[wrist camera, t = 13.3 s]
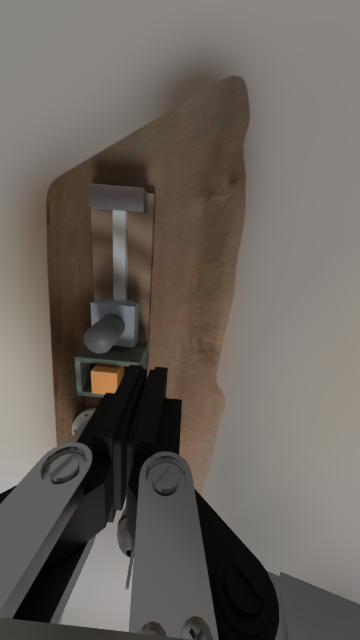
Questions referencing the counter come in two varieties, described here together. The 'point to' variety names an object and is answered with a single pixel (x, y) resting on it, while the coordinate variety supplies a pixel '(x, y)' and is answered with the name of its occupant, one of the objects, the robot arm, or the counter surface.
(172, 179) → the counter surface
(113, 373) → the orange block
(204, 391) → the counter surface
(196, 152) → the counter surface
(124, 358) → the rail base
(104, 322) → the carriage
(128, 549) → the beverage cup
